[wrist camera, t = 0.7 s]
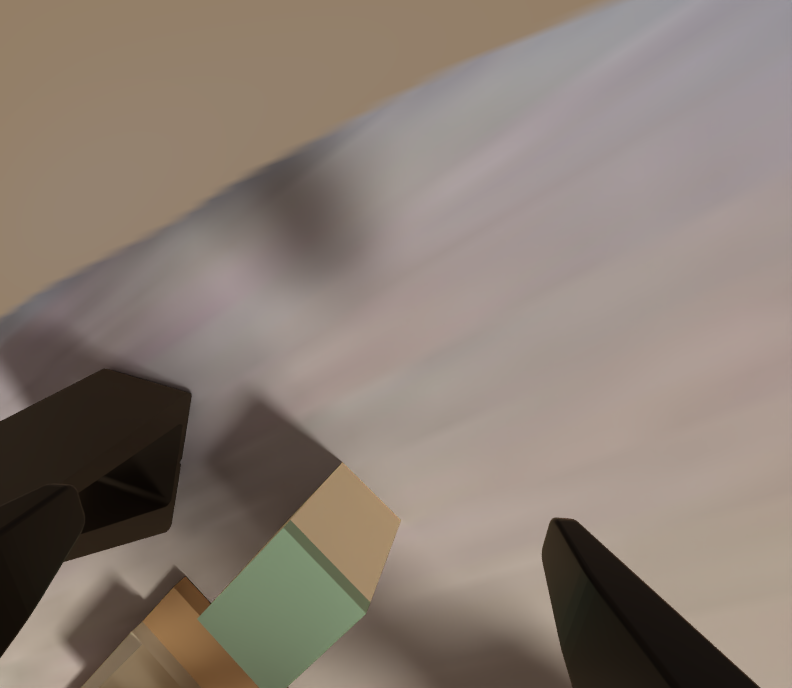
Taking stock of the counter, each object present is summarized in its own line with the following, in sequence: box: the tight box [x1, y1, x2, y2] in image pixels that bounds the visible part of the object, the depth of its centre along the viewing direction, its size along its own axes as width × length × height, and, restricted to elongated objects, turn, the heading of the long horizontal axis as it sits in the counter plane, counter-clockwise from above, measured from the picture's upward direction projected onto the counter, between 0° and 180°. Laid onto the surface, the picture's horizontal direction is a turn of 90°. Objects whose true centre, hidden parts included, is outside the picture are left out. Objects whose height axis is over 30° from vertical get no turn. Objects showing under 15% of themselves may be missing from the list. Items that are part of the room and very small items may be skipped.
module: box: [197, 462, 401, 688], centre depth 19 cm, size 4×6×7 cm
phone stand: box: [0, 369, 192, 562], centre depth 19 cm, size 9×6×12 cm, turn 167°
